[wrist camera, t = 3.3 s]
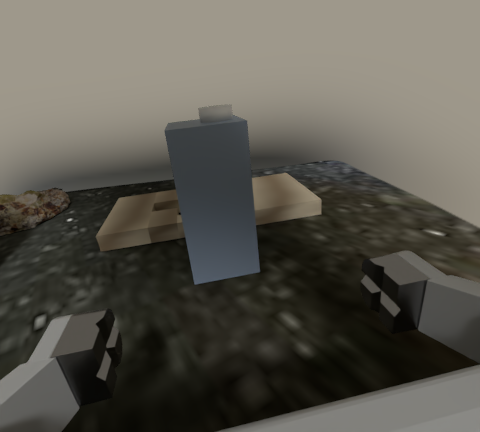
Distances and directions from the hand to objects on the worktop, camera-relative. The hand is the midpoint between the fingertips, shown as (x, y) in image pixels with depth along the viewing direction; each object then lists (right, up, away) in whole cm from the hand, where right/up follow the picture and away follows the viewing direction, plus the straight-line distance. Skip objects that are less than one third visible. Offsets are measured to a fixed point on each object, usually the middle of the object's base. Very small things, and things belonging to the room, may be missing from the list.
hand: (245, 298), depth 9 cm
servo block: (-1, -1, +13) cm, 13 cm away
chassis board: (-3, +3, +22) cm, 22 cm away
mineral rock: (-25, +2, +26) cm, 36 cm away
